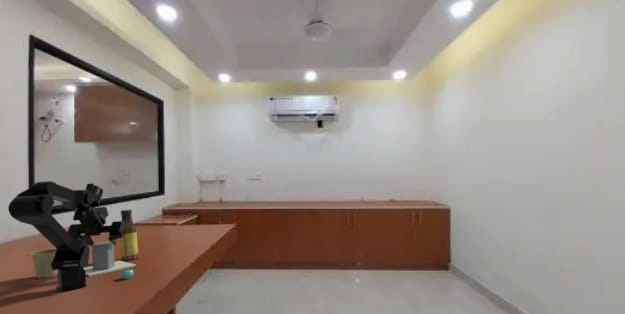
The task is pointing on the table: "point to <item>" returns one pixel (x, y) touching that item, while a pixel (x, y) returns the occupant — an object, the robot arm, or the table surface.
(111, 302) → the table surface
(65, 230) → the robot arm
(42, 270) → the flower pot
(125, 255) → the sauce bottle
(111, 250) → the grey rectangular block
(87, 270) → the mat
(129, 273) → the ball
